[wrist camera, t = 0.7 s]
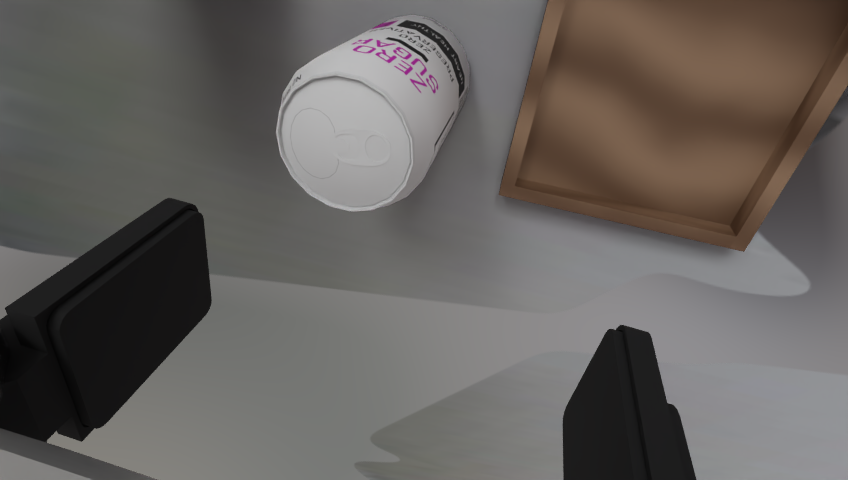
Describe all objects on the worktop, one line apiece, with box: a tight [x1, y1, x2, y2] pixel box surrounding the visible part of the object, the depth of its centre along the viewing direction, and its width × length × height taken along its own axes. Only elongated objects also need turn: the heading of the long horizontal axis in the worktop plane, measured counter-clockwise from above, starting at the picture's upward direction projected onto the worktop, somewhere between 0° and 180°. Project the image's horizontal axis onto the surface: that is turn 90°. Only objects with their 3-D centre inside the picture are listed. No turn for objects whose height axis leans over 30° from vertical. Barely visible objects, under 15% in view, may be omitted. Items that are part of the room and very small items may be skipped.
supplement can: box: [276, 14, 470, 212], centre depth 30 cm, size 8×8×15 cm
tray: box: [499, 0, 848, 252], centre depth 32 cm, size 18×18×2 cm
